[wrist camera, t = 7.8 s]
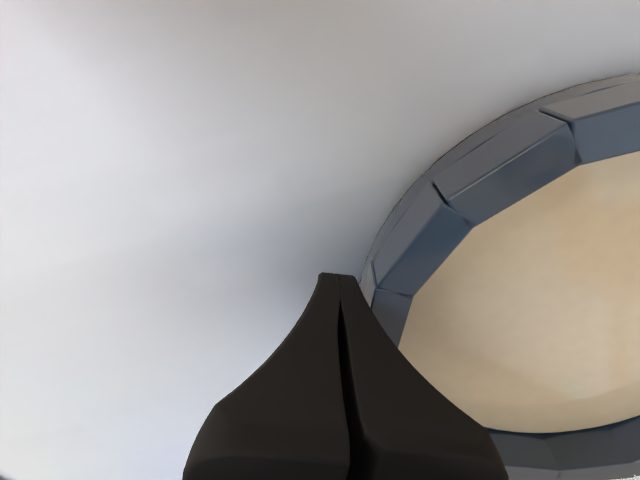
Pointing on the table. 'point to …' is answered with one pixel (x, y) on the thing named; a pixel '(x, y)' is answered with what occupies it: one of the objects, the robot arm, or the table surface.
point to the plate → (528, 281)
